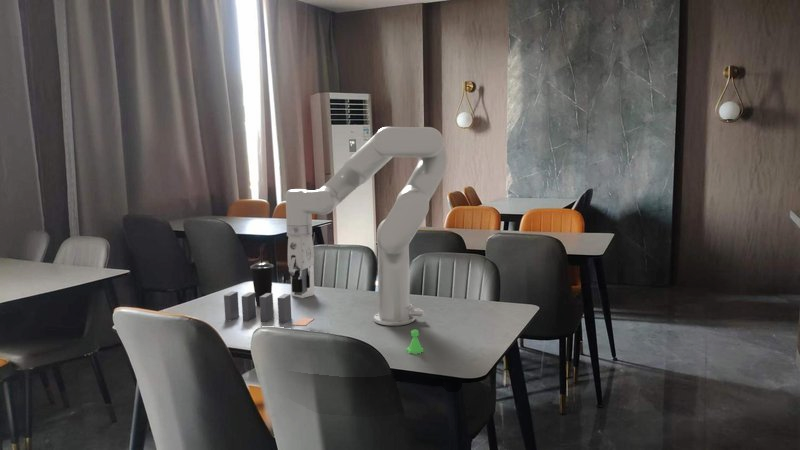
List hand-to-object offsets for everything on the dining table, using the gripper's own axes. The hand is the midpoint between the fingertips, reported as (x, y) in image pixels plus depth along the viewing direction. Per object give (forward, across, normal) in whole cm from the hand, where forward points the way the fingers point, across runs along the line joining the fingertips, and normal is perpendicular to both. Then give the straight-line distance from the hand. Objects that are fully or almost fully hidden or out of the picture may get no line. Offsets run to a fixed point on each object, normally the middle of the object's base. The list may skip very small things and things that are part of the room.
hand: (301, 289), depth 183 cm
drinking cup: (+11, +16, +21) cm, 28 cm away
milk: (+11, +31, +13) cm, 35 cm away
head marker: (+10, 0, 0) cm, 10 cm away
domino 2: (+11, 0, +18) cm, 21 cm away
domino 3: (+11, 0, +12) cm, 16 cm away
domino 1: (+11, 0, +24) cm, 26 cm away
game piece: (+10, -19, -39) cm, 45 cm away
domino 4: (+10, 0, +6) cm, 12 cm away
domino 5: (+1, 0, 0) cm, 1 cm away
